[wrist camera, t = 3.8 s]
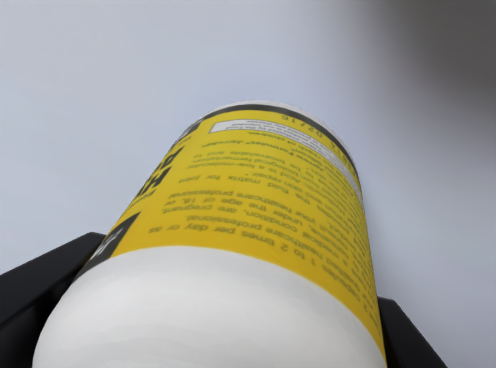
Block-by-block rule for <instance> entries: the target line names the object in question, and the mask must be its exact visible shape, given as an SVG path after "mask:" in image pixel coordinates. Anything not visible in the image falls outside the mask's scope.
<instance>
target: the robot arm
mask: <svg viewBox="0 0 496 368" xmlns="http://www.w3.org/2000/svg"><path fill="white" fill-rule="evenodd" d="M106 236H107V235H104V234H100V233H95V232H89V233H87V234H85V235H83V236H81V237H78V238H76V239H74V240H72V241H70V242H68V243H66V244H64V245H62V246H60V247H58V248H56V249H53V250H51V251H49V252H47V253H45V254H43V255H41V256H39V257H37V258H35V259H33V260H31V261H28V262H26V263H24V264H22V265H20V266H18V267H16V268H14V269H12V270H10V271H8V272H6V273H3V274H1V275H0V368H32V365H33V357H34V352H35V348H36V345H37V343H38V340H39V337H40V334H41V332H42V330H43V328H44V326H45V323H46V321H47V319H48V317H49V316H50V314H51V313H52V311H53V310H54V308H55V307H56V305H57V304H58V302H59V301H60V299H61V297H62V296H63V294H64V293H65V292H66V291H67V289H68V288H69V287H70V285H71V283H72V282H73V280H74V278H75V277H76V275H77V274H78V272H79V271H80V270H81V269H82V268H83V267H84V266H85V264H86V263H87V261H88V260H89V259H90V258H91V257H92V256H93V254H94V253H95V251H96V250H97V248H98V246H99V245H100V244H101V243H102V241H103V240H104V239H105V237H106ZM377 300H378V307H379V314H380V321H381V328H382V335H383V342H384V349H385V355H386V362H387V368H448V367H447V366H446V365H445V363H444V362H443V361H442V360H441V358H440V357H439V356H438V355H437V353H436V352H435V351H434V350H433V348H432V347H431V346H430V345H429V343H428V342H427V341H426V339H425V338H424V337H423V336H422V334H421V333H420V332H419V331H418V329H417V328H416V327H415V326H414V324H413V323H412V322H411V321H410V319H409V318H408V317H407V316H406V314H405V313H404V312H403V311H402V309H401V308H400V307H399V306H398V304H397V303H396V302H395V301H394V300H391V299H387V298H382V297H378V296H377Z"/></svg>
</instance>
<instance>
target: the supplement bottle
mask: <svg viewBox="0 0 496 368" xmlns="http://www.w3.org/2000/svg"><path fill="white" fill-rule="evenodd" d="M32 368H387V362H386V355H385V349H384V342H383V335H382V328H381V321H380V314H379V307H378V300H377V294H376V287H375V280H374V273H373V266H372V259H371V252H370V245H369V239H368V232H367V225H366V219H365V211H364V204H363V198H362V192H361V186H360V182H359V177H358V173H357V170H356V167H355V164H354V161H353V159H352V156H351V154H350V152H349V151H348V149H347V147H346V146H345V144H344V143H343V142H342V140H341V139H340V138H339V137H338V135H337V134H336V133H335V132H334V131H333V130H332V129H331V128H330V127H329V126H327V125H326V124H325V123H324V122H322V121H321V120H320V119H318V118H317V117H315V116H313V115H312V114H310V113H308V112H306V111H304V110H302V109H300V108H297V107H295V106H292V105H288V104H285V103H280V102H274V101H264V100H247V101H240V102H235V103H230V104H227V105H224V106H221V107H218V108H216V109H214V110H212V111H210V112H208V113H206V114H205V115H203V116H201V117H200V118H199V119H198V120H196V121H195V122H194V123H193V124H191V125H190V126H189V127H188V128H187V129H186V130H185V132H184V133H183V134H182V135H181V136H180V137H179V139H178V140H177V141H176V142H175V143H174V144H173V146H172V147H171V149H170V150H169V151H168V153H167V154H166V155H165V157H164V158H163V160H162V161H161V162H160V164H159V165H158V167H157V168H156V169H155V171H154V172H153V173H152V175H151V176H150V177H149V179H148V180H147V181H146V183H145V184H144V186H143V187H142V188H141V190H140V191H139V192H138V194H137V195H136V196H135V198H134V199H133V201H132V202H131V203H130V205H129V206H128V207H127V209H126V210H125V212H124V213H123V214H122V215H121V217H120V218H119V220H118V221H117V223H116V224H115V225H114V226H113V228H112V229H111V231H110V232H109V233H108V235H107V236H106V237H105V239H104V240H103V241H102V243H101V244H100V245H99V246H98V248H97V250H96V251H95V253H94V254H93V256H92V257H91V258H90V259H89V260H88V261H87V263H86V264H85V266H84V267H83V268H82V269H81V270H80V271H79V272H78V274H77V275H76V277H75V278H74V280H73V282H72V283H71V285H70V287H69V288H68V289H67V291H66V292H65V293H64V294H63V296H62V297H61V299H60V301H59V302H58V304H57V305H56V307H55V308H54V310H53V311H52V313H51V314H50V316H49V317H48V319H47V321H46V323H45V326H44V328H43V330H42V332H41V334H40V337H39V340H38V343H37V345H36V348H35V352H34V357H33V365H32Z"/></svg>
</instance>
